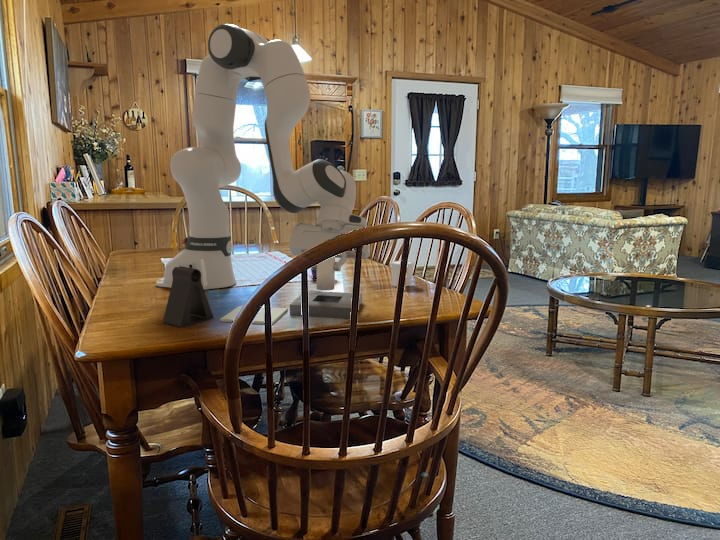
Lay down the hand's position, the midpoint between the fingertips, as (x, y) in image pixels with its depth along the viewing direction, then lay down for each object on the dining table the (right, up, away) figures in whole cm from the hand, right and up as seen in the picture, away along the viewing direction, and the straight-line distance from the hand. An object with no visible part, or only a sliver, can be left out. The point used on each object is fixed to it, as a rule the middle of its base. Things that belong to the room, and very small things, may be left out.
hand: (325, 269), depth 128 cm
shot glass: (+21, -5, +31) cm, 38 cm away
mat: (-16, -11, -5) cm, 20 cm away
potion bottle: (-4, -3, +40) cm, 40 cm away
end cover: (0, -5, +1) cm, 5 cm away
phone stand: (-30, -12, -10) cm, 34 cm away
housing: (0, -10, +2) cm, 10 cm away
